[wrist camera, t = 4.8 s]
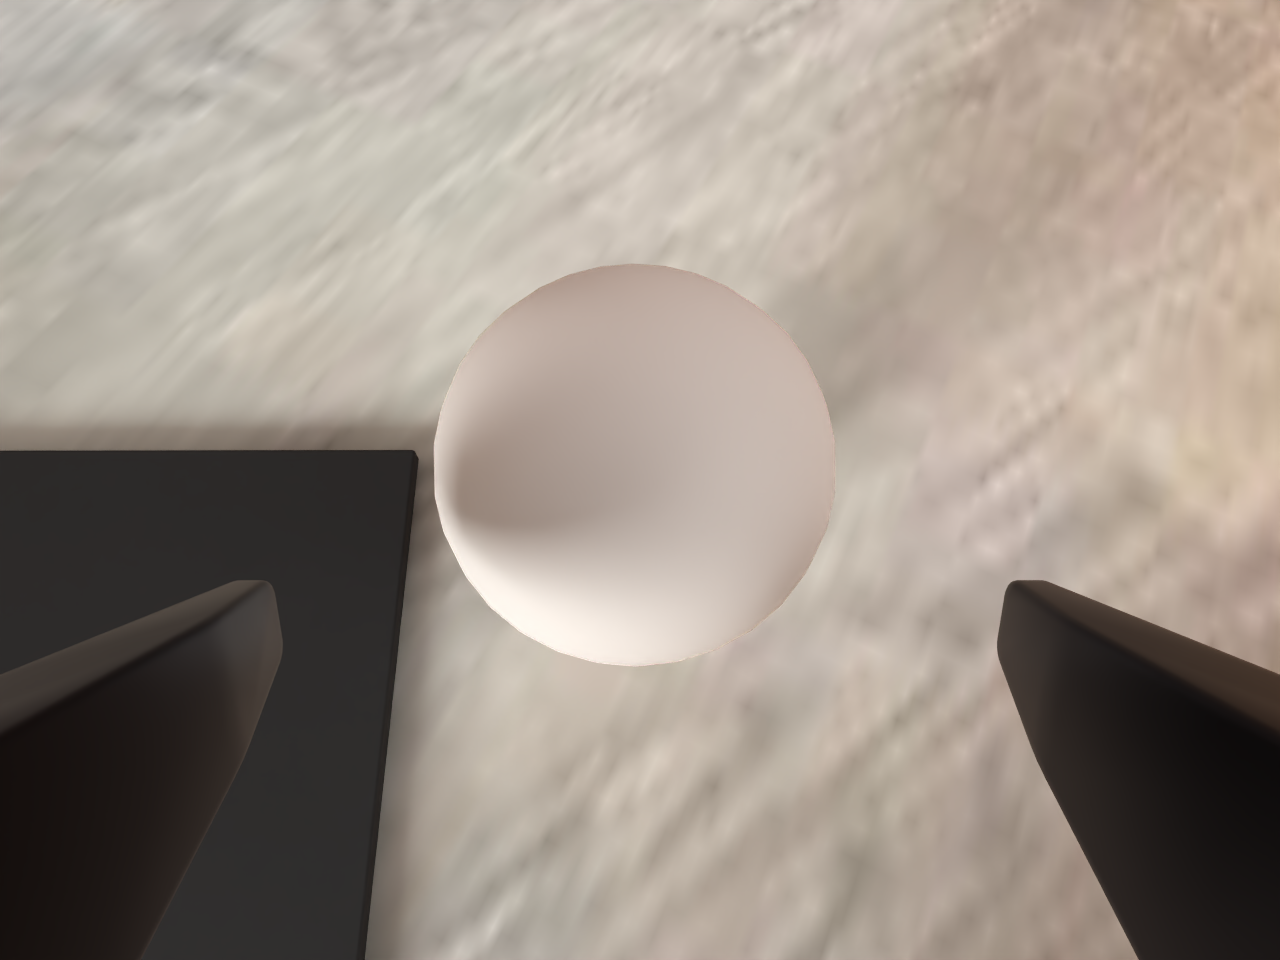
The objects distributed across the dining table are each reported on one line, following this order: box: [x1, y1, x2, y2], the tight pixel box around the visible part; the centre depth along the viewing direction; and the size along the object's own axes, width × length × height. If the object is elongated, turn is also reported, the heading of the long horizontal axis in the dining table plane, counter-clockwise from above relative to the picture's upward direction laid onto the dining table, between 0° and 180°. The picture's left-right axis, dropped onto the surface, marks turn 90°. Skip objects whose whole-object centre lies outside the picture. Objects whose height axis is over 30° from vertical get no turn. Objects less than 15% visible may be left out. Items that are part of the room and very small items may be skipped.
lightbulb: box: [434, 264, 835, 666], centre depth 16 cm, size 6×6×11 cm
